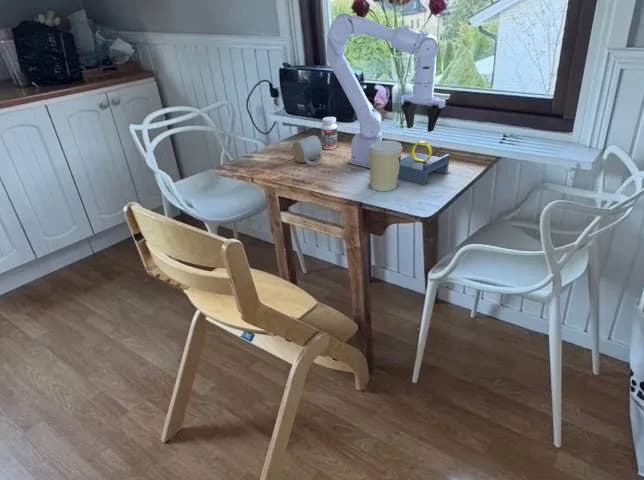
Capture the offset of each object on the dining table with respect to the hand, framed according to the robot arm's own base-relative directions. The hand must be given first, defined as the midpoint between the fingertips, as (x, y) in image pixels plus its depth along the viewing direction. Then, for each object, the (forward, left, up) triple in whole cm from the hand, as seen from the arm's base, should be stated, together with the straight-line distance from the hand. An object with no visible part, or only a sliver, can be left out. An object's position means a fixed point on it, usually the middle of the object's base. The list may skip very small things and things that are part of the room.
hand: (420, 129), depth 162 cm
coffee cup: (+4, -22, -11) cm, 25 cm away
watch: (+7, -8, -7) cm, 12 cm away
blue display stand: (+7, -8, -10) cm, 15 cm away
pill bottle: (-35, -4, -11) cm, 37 cm away
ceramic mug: (-30, -19, -11) cm, 37 cm away
